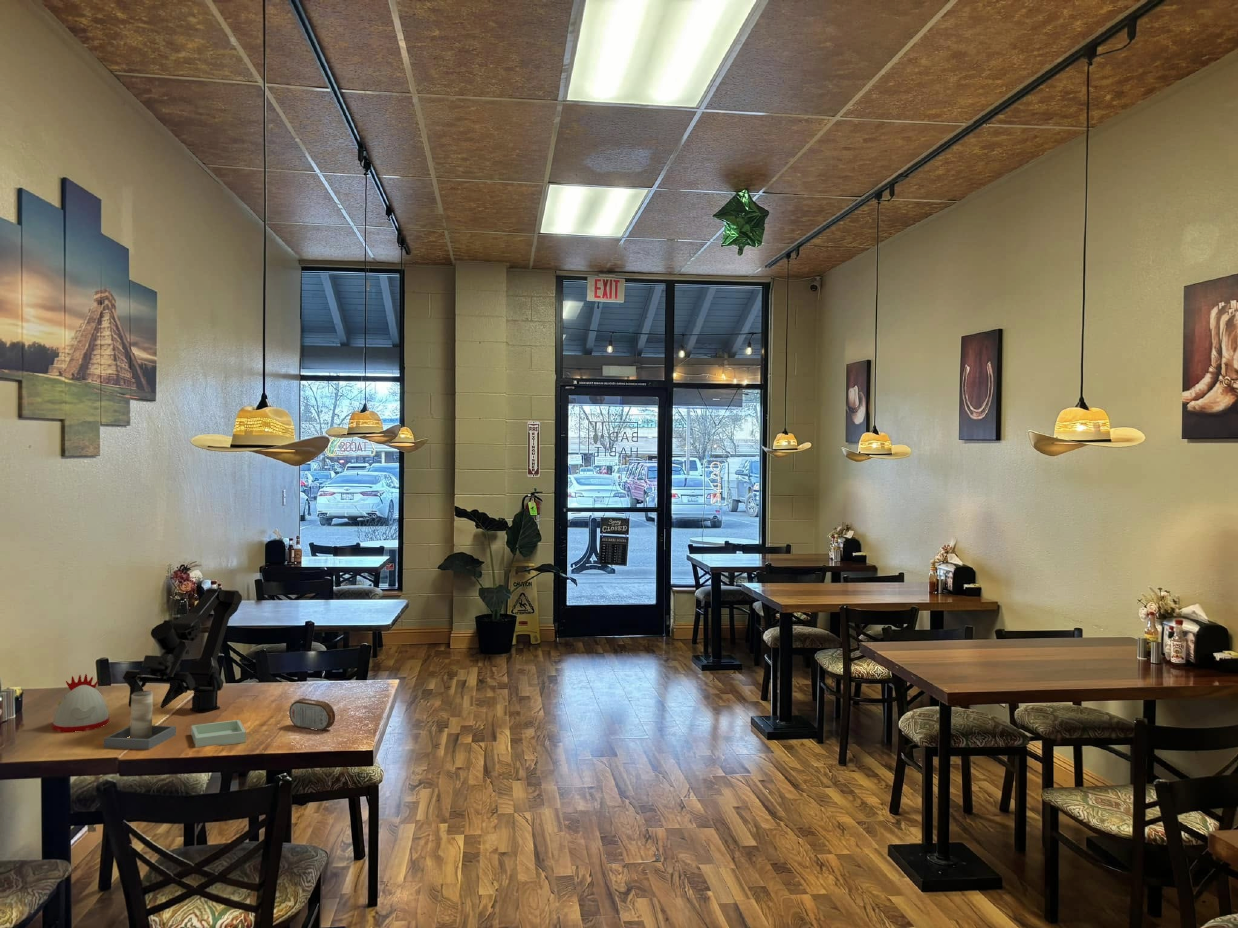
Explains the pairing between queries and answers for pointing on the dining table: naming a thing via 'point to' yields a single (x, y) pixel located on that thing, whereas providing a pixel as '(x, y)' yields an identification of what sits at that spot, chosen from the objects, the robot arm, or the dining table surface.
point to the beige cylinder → (141, 715)
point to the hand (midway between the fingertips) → (145, 706)
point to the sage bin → (218, 733)
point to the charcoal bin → (123, 742)
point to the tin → (312, 714)
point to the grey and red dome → (81, 708)
